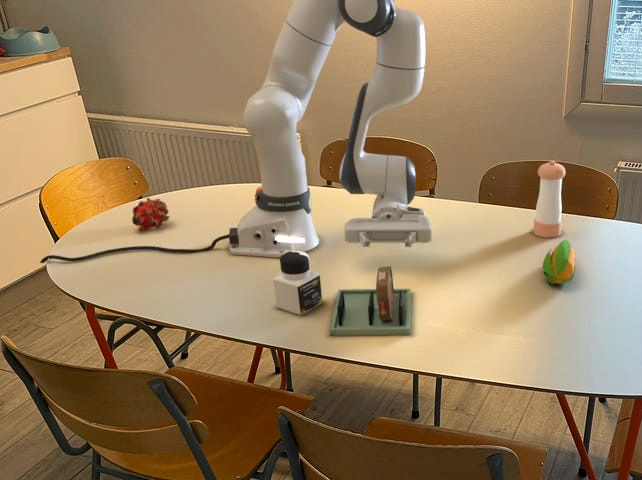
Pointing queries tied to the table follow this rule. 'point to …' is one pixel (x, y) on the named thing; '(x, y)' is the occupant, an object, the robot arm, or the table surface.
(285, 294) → the medicine bottle
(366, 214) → the table surface
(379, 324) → the drying rack
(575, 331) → the table surface
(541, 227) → the pepper shaker
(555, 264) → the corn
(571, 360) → the table surface
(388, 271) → the tin
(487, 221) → the table surface
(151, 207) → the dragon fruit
